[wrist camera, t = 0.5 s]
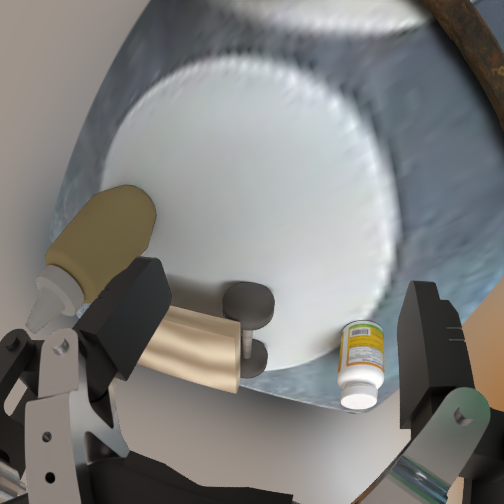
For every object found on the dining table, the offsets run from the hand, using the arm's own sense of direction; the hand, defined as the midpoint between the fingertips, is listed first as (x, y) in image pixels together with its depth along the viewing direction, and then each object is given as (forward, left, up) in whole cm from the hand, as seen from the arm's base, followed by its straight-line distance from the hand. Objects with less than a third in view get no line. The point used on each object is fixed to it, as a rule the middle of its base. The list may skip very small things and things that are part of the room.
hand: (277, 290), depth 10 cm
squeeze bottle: (+11, -19, -18) cm, 28 cm away
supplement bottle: (+24, +9, -18) cm, 31 cm away
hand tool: (-8, +14, -19) cm, 25 cm away
